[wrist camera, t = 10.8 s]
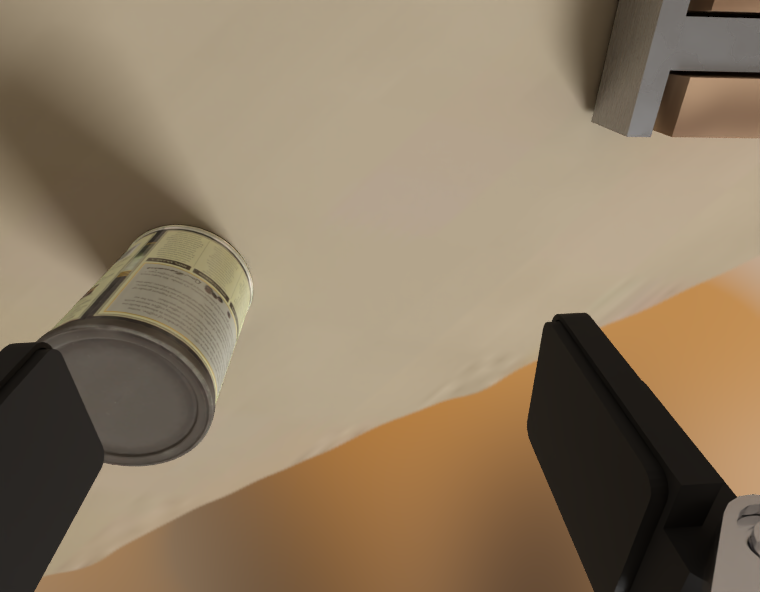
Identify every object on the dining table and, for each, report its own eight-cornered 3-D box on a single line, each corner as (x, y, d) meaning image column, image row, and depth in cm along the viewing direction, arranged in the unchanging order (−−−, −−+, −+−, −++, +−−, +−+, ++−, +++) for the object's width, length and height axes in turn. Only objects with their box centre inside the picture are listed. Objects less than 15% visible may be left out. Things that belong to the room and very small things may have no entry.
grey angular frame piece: (642, -102, 28) (696, -124, 23) (807, -94, 28) (889, -115, 24) (591, 121, 34) (626, 136, 30) (728, 123, 34) (783, 138, 30)
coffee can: (237, 350, 43) (191, 483, 30) (113, 314, 40) (10, 444, 28) (270, 250, 38) (232, 359, 26) (133, 203, 36) (20, 299, 23)
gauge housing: (532, -111, 28) (574, -141, 23) (860, -96, 29) (972, -122, 24) (499, 126, 34) (526, 145, 29) (769, 130, 35) (841, 149, 30)
